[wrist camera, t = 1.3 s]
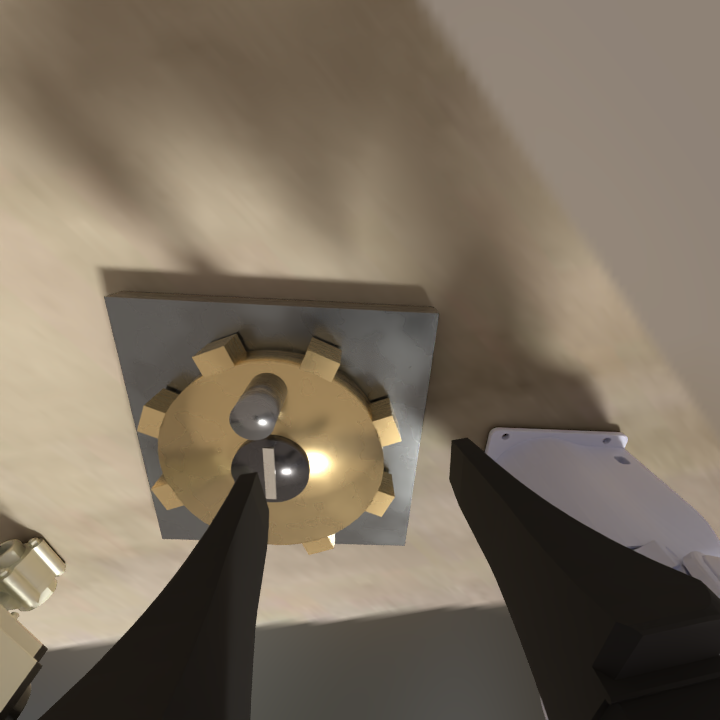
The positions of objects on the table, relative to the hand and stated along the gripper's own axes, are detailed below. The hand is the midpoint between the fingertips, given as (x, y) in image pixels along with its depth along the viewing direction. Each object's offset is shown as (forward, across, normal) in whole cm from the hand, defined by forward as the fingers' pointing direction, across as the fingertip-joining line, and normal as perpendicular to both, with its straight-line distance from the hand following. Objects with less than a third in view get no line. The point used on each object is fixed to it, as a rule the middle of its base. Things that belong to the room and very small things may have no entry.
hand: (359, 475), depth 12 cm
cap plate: (+10, +4, +5) cm, 12 cm away
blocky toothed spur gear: (+8, +4, +5) cm, 10 cm away
